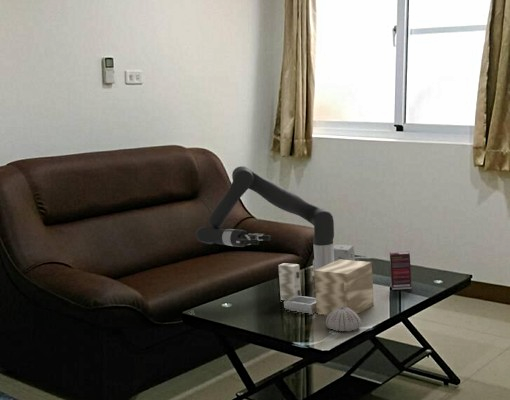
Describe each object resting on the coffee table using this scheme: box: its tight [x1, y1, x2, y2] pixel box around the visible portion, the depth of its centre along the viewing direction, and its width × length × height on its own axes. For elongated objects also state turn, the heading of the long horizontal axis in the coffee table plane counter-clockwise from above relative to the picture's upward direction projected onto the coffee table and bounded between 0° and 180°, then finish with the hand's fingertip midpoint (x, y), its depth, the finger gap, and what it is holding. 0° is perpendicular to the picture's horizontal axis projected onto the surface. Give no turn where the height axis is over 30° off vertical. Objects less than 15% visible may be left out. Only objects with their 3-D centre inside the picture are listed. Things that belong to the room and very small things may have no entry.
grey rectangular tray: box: [283, 295, 317, 315], centre depth 327 cm, size 13×9×4 cm
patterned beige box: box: [311, 259, 375, 316], centre depth 323 cm, size 17×20×18 cm
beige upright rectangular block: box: [278, 262, 302, 301], centre depth 339 cm, size 9×4×16 cm, turn 53°
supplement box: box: [389, 251, 413, 291], centre depth 347 cm, size 9×5×16 cm, turn 84°
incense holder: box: [333, 244, 356, 262], centre depth 394 cm, size 10×8×10 cm
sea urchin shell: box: [325, 307, 362, 332], centre depth 299 cm, size 13×14×8 cm
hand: (264, 240), depth 344 cm, fingers open, 8 cm apart
